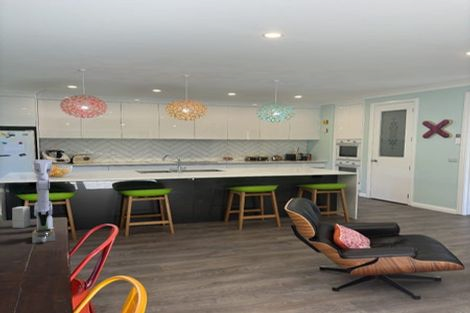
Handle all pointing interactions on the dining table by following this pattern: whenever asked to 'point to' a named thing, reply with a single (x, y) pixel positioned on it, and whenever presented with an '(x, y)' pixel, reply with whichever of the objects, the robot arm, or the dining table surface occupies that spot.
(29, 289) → the dining table surface
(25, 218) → the supplement box
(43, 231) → the gearbox
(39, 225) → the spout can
